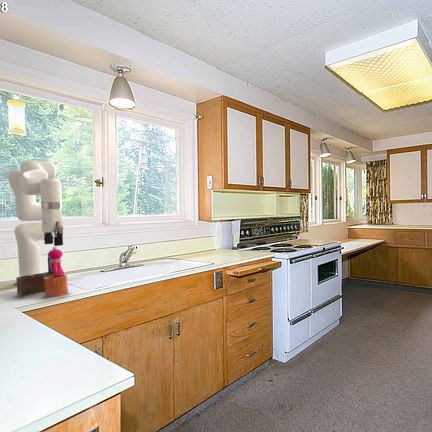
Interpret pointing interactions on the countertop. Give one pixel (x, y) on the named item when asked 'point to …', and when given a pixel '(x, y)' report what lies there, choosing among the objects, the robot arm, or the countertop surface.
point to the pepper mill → (56, 255)
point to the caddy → (31, 283)
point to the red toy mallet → (55, 269)
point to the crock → (55, 285)
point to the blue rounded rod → (49, 265)
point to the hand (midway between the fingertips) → (53, 244)
